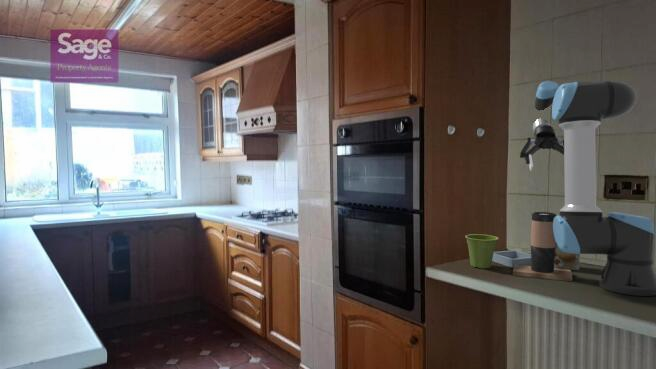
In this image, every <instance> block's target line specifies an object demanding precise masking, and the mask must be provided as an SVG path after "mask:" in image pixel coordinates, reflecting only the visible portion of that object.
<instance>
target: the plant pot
mask: <svg viewBox="0 0 656 369" xmlns="http://www.w3.org/2000/svg"><path fill="white" fill-rule="evenodd" d="M464 237H465V239H466V243H467V247H468V254H469V255H468V256H469V262H470V266H472V267H473V268H476V267H477V268H478V269H489V268H491V267H492V263H493V261H492V259H493V254H494V252H495V248H496V245H497V242H498V240H499V237H497V236H494V235H490V234H481V233H480V234H479V233H478V234H477V233H475V234H472V233H471V234H466V235H465V236H464Z"/></svg>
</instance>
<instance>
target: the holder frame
mask: <svg viewBox="0 0 656 369" xmlns="http://www.w3.org/2000/svg"><path fill="white" fill-rule="evenodd" d="M492 262H493V263H494V262H495V263H497V264H500V265H503V266H505V267H506V266H507V267H509V268H513V269H514V265H524V266H531V253H527V252H524V251H521V250H516V249H514V250H513V249H512V250H502V251H501V250H500V251H494V254H493V259H492Z"/></svg>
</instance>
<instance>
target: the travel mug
mask: <svg viewBox="0 0 656 369" xmlns="http://www.w3.org/2000/svg"><path fill="white" fill-rule="evenodd" d="M556 216H557V214H556V213H554V212H548V211H546V212H545V211H535V212H532V213H531V228H530V229H531V232H530V254H531V270H533V271H536V272H541V273H552V272H554V262H555V246H556V241H555V237H554V232H553V220H554V218H555V217H556Z"/></svg>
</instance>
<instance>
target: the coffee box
mask: <svg viewBox="0 0 656 369" xmlns="http://www.w3.org/2000/svg"><path fill="white" fill-rule="evenodd" d="M580 255H581V254H574V253H565V252H563V251H561V250H560V249H559V247H558V245H557V243H556V246H555V262H554V268H556V269H567V270H571V271H572V270H573V271H579V270H580V259H581V258H580Z"/></svg>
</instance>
